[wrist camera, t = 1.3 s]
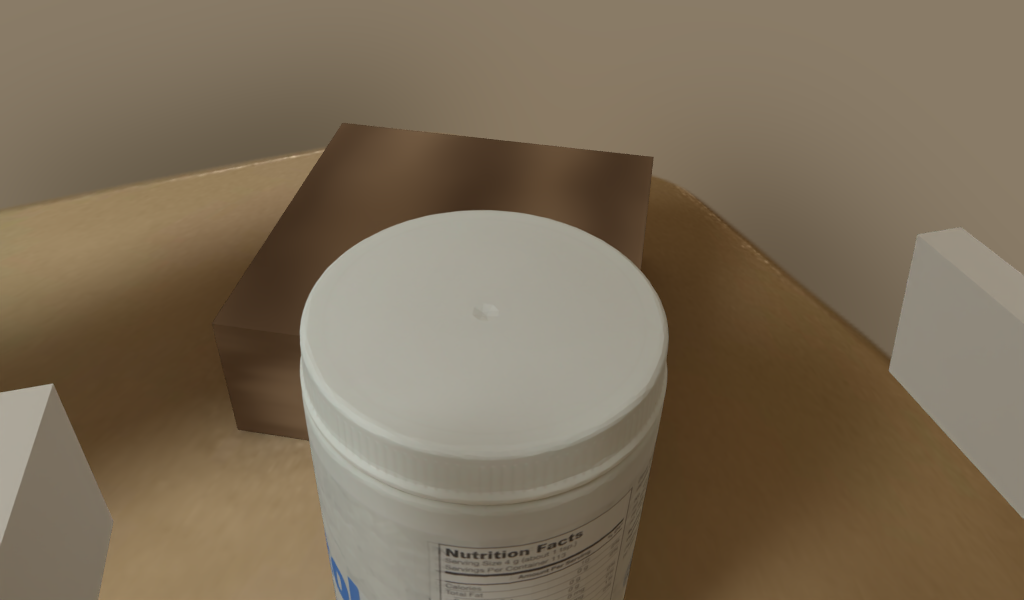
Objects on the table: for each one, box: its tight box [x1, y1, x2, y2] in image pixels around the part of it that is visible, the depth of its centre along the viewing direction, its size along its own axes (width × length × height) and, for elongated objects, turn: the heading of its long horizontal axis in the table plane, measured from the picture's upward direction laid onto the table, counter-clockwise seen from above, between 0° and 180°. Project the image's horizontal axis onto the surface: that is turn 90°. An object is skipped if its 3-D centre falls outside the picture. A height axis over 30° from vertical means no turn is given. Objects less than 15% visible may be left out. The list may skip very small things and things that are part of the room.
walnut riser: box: [212, 123, 653, 440], centre depth 42 cm, size 16×16×6 cm
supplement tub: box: [300, 210, 669, 600], centre depth 28 cm, size 10×10×15 cm
